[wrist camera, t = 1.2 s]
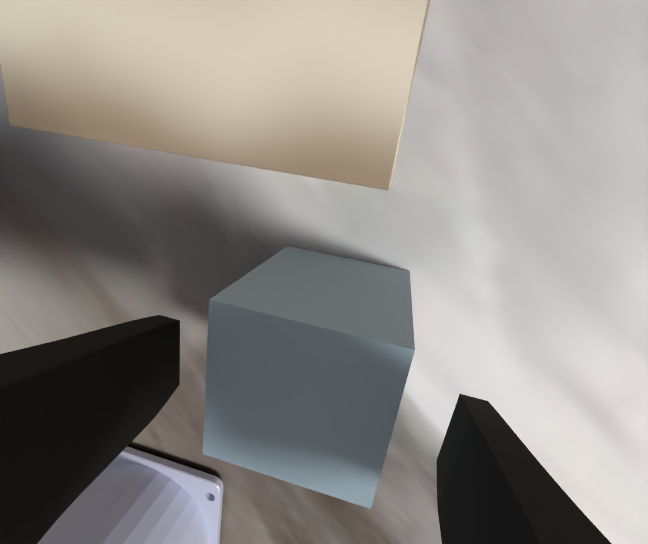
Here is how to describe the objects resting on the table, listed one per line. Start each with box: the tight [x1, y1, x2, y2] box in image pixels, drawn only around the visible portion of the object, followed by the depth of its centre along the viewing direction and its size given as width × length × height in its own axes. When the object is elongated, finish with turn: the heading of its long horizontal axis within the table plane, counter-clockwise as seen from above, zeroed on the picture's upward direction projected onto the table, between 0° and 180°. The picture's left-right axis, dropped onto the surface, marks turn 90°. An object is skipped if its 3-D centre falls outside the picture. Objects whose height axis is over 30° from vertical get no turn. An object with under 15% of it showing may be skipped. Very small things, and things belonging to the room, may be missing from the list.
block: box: [203, 246, 415, 509], centre depth 10 cm, size 4×4×6 cm
